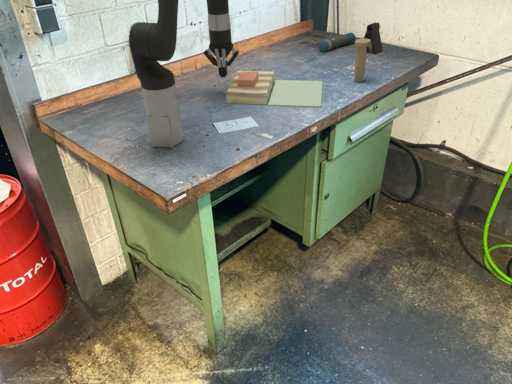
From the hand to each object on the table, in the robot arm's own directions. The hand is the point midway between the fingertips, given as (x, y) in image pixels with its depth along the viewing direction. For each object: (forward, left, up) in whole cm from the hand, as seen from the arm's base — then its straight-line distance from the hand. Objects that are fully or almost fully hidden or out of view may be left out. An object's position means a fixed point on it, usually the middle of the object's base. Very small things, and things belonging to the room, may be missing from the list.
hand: (223, 76), depth 155 cm
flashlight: (+59, -41, -6) cm, 72 cm away
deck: (+1, -10, -6) cm, 12 cm away
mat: (+1, -26, -6) cm, 27 cm away
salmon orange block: (0, -9, -2) cm, 9 cm away
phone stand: (+54, -56, -6) cm, 78 cm away
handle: (+15, -49, -6) cm, 52 cm away
